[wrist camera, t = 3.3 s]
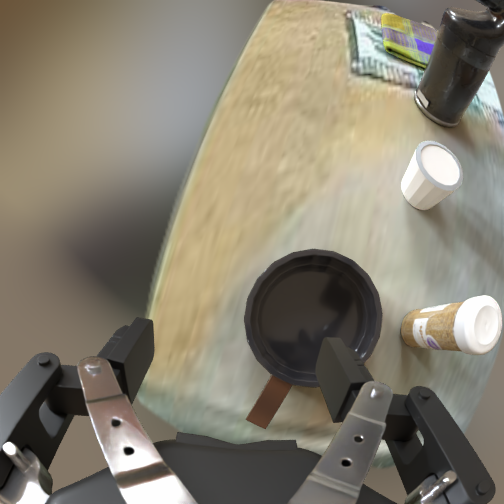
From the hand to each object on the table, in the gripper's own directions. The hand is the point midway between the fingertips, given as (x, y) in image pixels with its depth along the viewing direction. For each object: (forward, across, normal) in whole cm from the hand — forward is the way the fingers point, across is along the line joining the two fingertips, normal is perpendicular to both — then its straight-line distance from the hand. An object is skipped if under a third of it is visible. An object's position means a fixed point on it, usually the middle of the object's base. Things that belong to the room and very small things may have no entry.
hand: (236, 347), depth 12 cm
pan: (+15, -8, +6) cm, 18 cm away
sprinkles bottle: (+12, -21, +5) cm, 25 cm away
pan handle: (+12, -5, +14) cm, 19 cm away
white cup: (+20, -22, -11) cm, 32 cm away
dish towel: (+38, -34, -50) cm, 71 cm away
